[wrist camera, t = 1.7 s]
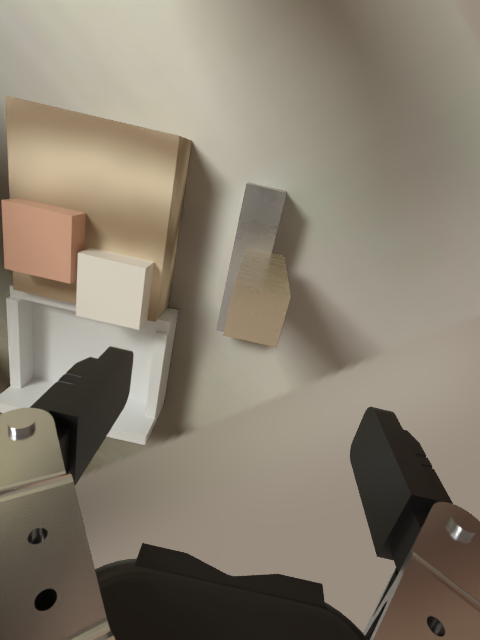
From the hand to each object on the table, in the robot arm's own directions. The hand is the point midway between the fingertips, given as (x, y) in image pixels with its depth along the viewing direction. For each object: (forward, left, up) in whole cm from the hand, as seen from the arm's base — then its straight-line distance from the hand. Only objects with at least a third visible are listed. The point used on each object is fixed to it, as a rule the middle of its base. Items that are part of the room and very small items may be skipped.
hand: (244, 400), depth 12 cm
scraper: (0, -1, -21) cm, 21 cm away
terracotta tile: (+1, -16, -17) cm, 23 cm away
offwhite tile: (+3, -11, -17) cm, 20 cm away
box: (+12, -13, -21) cm, 27 cm away
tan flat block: (-1, -13, -21) cm, 25 cm away
